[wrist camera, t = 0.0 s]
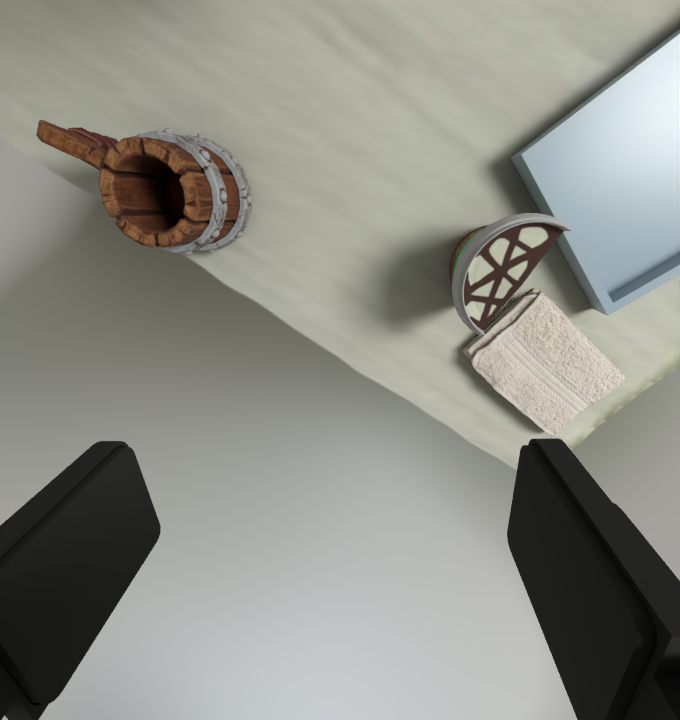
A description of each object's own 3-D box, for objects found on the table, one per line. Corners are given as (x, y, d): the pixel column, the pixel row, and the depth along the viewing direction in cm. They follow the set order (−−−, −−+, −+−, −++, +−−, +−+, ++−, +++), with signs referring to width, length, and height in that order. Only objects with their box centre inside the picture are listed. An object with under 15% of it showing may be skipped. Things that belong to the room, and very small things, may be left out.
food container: (485, 187, 39) (519, 183, 30) (530, 219, 40) (577, 224, 31) (417, 285, 44) (429, 307, 34) (458, 311, 44) (481, 340, 35)
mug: (235, 274, 44) (148, 289, 31) (141, 207, 45) (12, 192, 31) (280, 185, 40) (202, 155, 26) (175, 111, 40) (43, 42, 26)
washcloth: (529, 281, 43) (540, 286, 40) (623, 371, 46) (639, 382, 43) (454, 351, 47) (459, 360, 44) (545, 429, 51) (556, 442, 48)
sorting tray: (510, 157, 37) (521, 154, 35) (750, -26, 31) (787, -49, 28) (592, 308, 43) (607, 315, 40) (811, 180, 36) (848, 178, 33)
